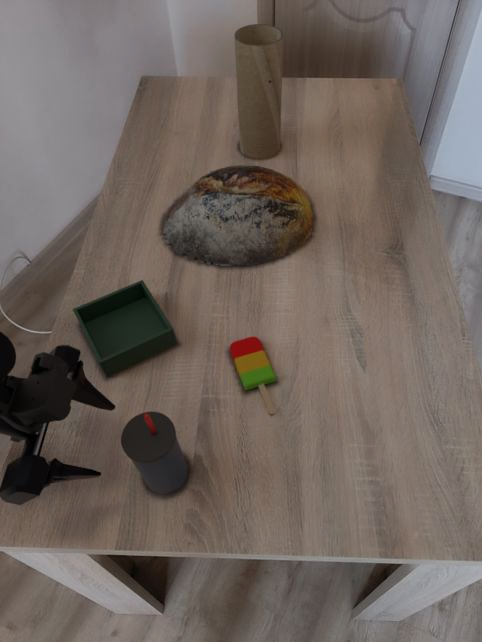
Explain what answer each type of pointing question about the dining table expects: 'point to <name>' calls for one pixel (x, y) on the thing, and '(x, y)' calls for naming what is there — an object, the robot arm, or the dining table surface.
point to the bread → (239, 217)
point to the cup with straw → (155, 451)
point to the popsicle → (253, 366)
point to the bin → (125, 327)
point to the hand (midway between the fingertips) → (107, 440)
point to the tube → (259, 89)
